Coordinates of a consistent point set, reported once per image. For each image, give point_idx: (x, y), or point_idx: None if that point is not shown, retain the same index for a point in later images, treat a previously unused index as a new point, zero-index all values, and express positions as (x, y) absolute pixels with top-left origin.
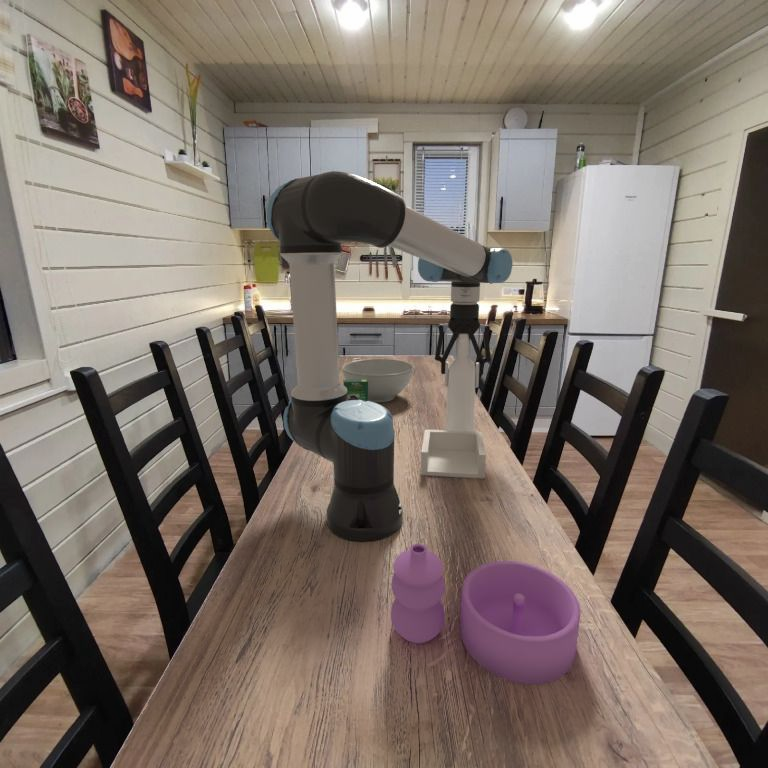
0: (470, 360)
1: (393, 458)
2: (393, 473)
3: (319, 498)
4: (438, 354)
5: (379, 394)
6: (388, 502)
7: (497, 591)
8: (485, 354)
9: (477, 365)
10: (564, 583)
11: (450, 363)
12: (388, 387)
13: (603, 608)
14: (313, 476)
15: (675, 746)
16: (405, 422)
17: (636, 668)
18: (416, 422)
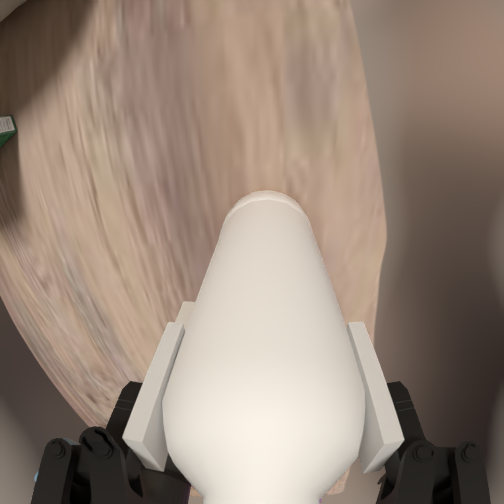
0: (325, 492)
1: (186, 501)
2: (189, 488)
3: (109, 413)
4: (87, 500)
5: (6, 16)
6: None
7: None
8: (454, 489)
9: (366, 466)
10: (319, 499)
11: (173, 462)
12: (7, 5)
13: (346, 472)
14: (71, 377)
15: (335, 492)
16: (95, 116)
17: (341, 484)
18: (124, 105)
